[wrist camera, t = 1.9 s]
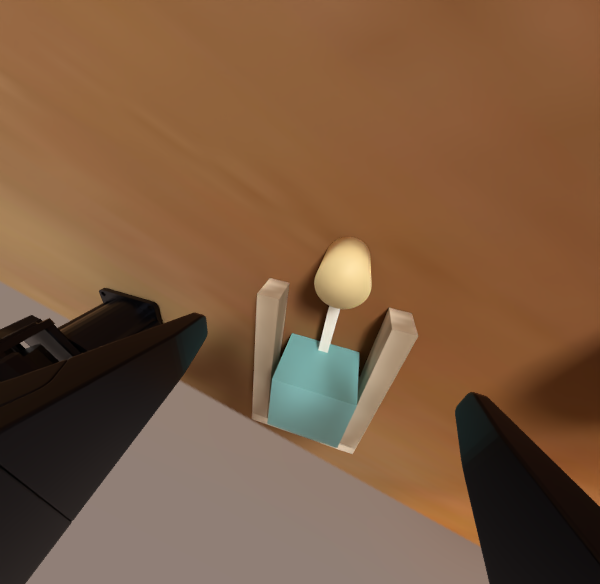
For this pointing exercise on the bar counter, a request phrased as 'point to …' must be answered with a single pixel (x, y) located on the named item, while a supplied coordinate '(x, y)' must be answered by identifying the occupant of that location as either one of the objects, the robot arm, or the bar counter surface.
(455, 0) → the bar counter surface
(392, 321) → the u-shaped wooden stand
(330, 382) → the teal knobbed plunger
